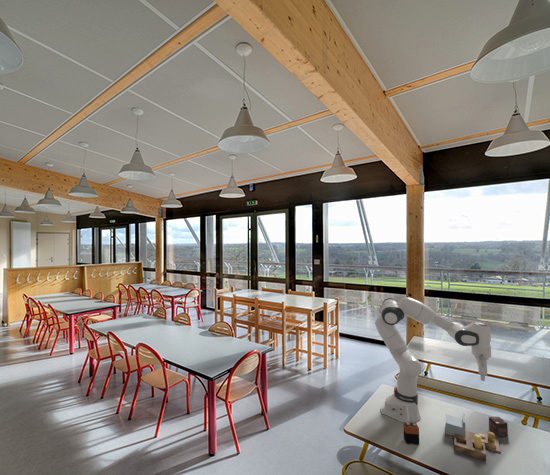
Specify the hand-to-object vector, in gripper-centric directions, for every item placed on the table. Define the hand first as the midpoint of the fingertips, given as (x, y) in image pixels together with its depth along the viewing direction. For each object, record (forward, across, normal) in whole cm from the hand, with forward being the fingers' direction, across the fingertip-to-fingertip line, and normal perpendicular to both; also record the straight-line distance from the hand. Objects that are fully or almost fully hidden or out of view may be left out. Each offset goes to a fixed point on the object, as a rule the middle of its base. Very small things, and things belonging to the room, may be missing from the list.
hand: (481, 376), depth 157 cm
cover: (+30, -9, +13) cm, 34 cm away
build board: (+31, -19, +7) cm, 37 cm away
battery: (+31, -28, +33) cm, 53 cm away
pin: (+30, -19, +4) cm, 36 cm away
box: (+31, +4, -7) cm, 32 cm away
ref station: (+31, -9, +6) cm, 33 cm away
